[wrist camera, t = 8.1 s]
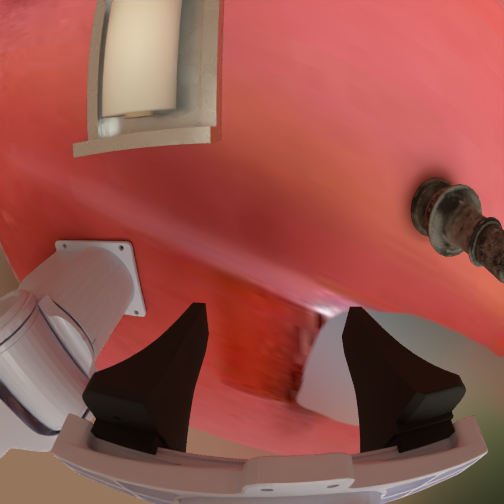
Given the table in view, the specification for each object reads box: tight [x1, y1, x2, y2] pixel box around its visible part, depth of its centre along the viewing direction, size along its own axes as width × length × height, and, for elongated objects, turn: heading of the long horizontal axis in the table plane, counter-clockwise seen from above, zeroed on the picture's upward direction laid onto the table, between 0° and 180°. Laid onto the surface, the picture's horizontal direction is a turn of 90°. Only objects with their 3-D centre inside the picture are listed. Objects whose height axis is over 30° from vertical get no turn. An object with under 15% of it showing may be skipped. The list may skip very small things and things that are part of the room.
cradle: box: [73, 0, 224, 157], centre depth 13 cm, size 10×16×4 cm, turn 179°
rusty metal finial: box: [411, 178, 504, 283], centre depth 14 cm, size 6×6×12 cm
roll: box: [102, 0, 182, 119], centre depth 13 cm, size 5×12×5 cm, turn 179°
